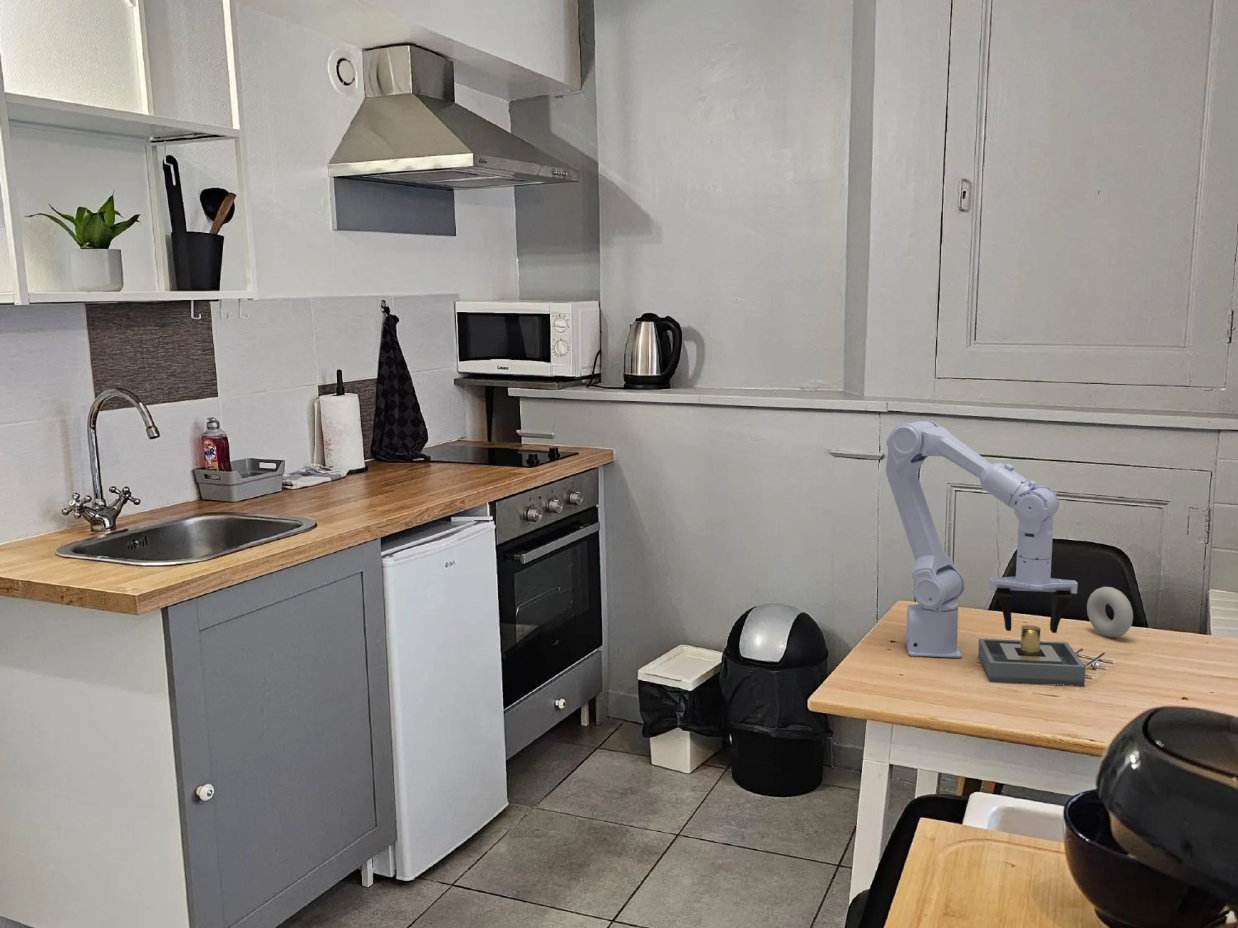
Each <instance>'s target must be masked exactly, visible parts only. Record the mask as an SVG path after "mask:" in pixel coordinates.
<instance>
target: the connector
mask: <svg viewBox="0 0 1238 928" xmlns="http://www.w3.org/2000/svg"><path fill="white" fill-rule="evenodd" d="M1020 640H1021V648H1020V656H1035V657H1039V652H1040V641H1041V627H1039V626H1037V625H1031V624H1030V625H1028V624H1025V625H1022V626H1021V629H1020Z"/></svg>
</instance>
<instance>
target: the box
mask: <svg viewBox="0 0 1238 928" xmlns="http://www.w3.org/2000/svg"><path fill="white" fill-rule="evenodd" d="M999 643H1005V644H1021V639H1019V640H1018V639H998V638H997V639H996V638H995V639H994V638H978V650H977V651H978V652H977V653H978V654H977V657H978V660H979V659H980V660H979V662H980V664H981V663H982V664H981V666H982V669H983V670H984V673H985V675H986V678H987V679H988V681H989V683H1001V684H1002V683H1003V684H1004V683H1005V684H1022V683H1025V684H1026V683H1029V684H1028V685H1042V684H1056V685H1055V686H1063V684H1064V685H1073V686H1072V687H1083V686H1084V687H1085V685H1086V684H1085V681H1086V680H1085V679H1086V666H1085V664H1084V662H1082V660H1081V658H1080V657H1079V656H1078V655H1077V654H1076V652H1075V651H1074V649H1073V648H1072V647H1071V646H1070V644H1069V642H1066V641H1045V640H1044V641H1043V640H1040V645H1051V646H1052V647H1053V649H1054V650H1055V652H1056V653H1057V655H1058V656H1059V658H1060V659H1061V661H1062V664H1041V663H1019V662H1001V660H1000V658H999ZM1057 684H1059V685H1057ZM1060 684H1061V685H1060ZM1026 685H1027V684H1026Z"/></svg>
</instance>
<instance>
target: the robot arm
mask: <svg viewBox="0 0 1238 928" xmlns="http://www.w3.org/2000/svg"><path fill="white" fill-rule="evenodd" d="M885 443H886V444H885V445H886V447H887V449H888V450H887V454H886V455H887V456H886V464H885V473H886V474H885V475H886V477H887V479H888V480H887V481H888V483H889V486H890V489H891V492H892V495H893V498H894V501H895V505H896V507H897V510H898V513H899V516H900V519H901V522H902V525H903V528H904V530H905V531H904V532H905V534H906V537H907V540H908V543H909V546H910V549H911V552H912V555H913V558H914V563H913V567H912V570H911V576H912V579H913V580H912V581H913V586H912V587H913V588H912V593H913V597H914V599H915V600H916V602H917V603H916V604H908V605H907V607H906V628H905V629H906V631H905V633H904V634H905V636H904V638H905V640H904V641H905V645H906V649H907V654H908V655H909V656H913V657H914V656H915V657H917V656H918V657H933V658H934V657H938V658H954V659H955V658H956V659H957V658H958V659H960V658H962V653H961V651H960V648H959V647H958V629H959V627H958V625H959V597H960V596H961V595H962V594H963V592H964V591H965V586H966V582H965V579H964V577H963V575H962V573H961V572H960V571H959V570H958V569H957V568H956V566H955V564H954V561H953V559H952V558H951V557H950V556H949V555H947V554H946V553H945V551H943V548H942V547H943V546H942V544H941V541H940V538H939V536H938V532H937V529H936V526H935V523H934V521H933V518H932V515H931V511H930V508H929V506H928V503H927V500H926V496H925V493H924V491H923V487H922V486H921V482H920V480H919V477H918V472H919V470H920V469H921V467H922V465H923V463H924V461H925V460H926V459H927V458H928V457H942V458H945V459H947V460H948V461H950V462H951V463H953V464H954V465H956V466H958V467H960V468H961V469H963V470H965V471H967V472H968V473H969V474H971V475H973V476H974V477H976V478H978V479H979V481H980V485H981V488H982V490H984V491H985V492H987V493H988V494H989V495H991V496H993V497H994V498H996V499H997V500H999V501H1000V502H1002V503H1003V504H1004V505H1005V506H1007V507H1009V508H1011V509H1013V512H1014V515H1015V516H1016V519H1018V529H1017V546H1016V549H1017V550H1016V563H1015V564H1016V566H1015V567H1016V570H1015V576H1004V577H1003V576H1001V577H989V578H988V579H989V580H988V589H989V590H990V591H993V592H995V595H996V597H997V601H999V605H1000V607H1001V611H1002V615H1003V620H1004V628H1005V630H1006V631H1008V632H1011V631H1012V609H1013V608H1012V607H1013V600H1014V597H1013V595H1012V594H1013V593H1012V592H1011V591H1018V592H1019V591H1020V592H1021V591H1024V592H1047V593H1050V594H1051V595H1050V598H1051V599H1050V601H1051V607H1050V608H1051V609H1050V610H1051V612H1050V621H1049V629H1050V632H1051V633H1052V634H1053V633H1054V634H1057V633H1058V627H1059V625H1060V622H1061V620H1062V617H1063V614H1064V612H1065V611H1066V609H1067V607H1068V606H1070V605H1069V604H1071V601H1072V599H1073V597H1072V595H1071V594H1075V595H1077V594H1078V585H1079V584H1078V582H1077V581H1076V580H1071V579H1061V578H1051V576H1052V575H1051V573H1052V559H1053V557H1052V556H1053V555H1052V554H1053V537H1054V536H1053V535H1054V531H1053V530H1054V527H1053V526H1054V517H1053V516H1054V515H1056V514H1057V512H1058V510H1059V507H1060V506H1059V505H1060V501H1059V498H1058V496H1057V494H1056V493H1055V492H1054V491H1053V490H1052V489H1051V488H1050V487H1048V486H1047V485H1046V486H1045V485H1038V486H1037V483H1038V482H1036V481H1035V480H1034V479H1031V480H1029V479H1027V478H1025V477H1024V476H1023V475H1022V474H1019V473H1018V472H1017V471H1015V466H1014V465H1012V464H1010V463H1006V464H1005V463H1003V462H996V463H991V462H989V461H988V460H987V459H985V458H984V457H983V456H982V455H980V454H979V453H978V452H976V451H975V450H973V449H972V448H970V447H969V446H968V445H966V444H965V443H964V442H963V441H961V440H959V438H957V437H956V436H954V435H953V434H952V433H950V431H949V429H947V428H946V427H943V426H941V425H940V426H939V425H938V424H937V423H936V422H934V421H933V420H931V419H921V420H918V421H914V422H910V423H900V424H898V425H897V426H895V427H894V428H893V429H892V431H891V432H890V434H889V436H888V437H887V439H886V441H885Z"/></svg>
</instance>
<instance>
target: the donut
mask: <svg viewBox="0 0 1238 928" xmlns="http://www.w3.org/2000/svg"><path fill="white" fill-rule="evenodd" d="M1086 604H1087V605H1086V611H1087V617H1088V619H1089V620H1088V621H1089V622H1090V624H1091V625H1092V627H1093V628H1094V630H1095V631H1097V633H1099V634H1101V635H1102V636H1105V637H1108V638H1119V637H1121V636H1124V635H1125V634H1126V633H1127V632H1129V631H1130V629H1131V627H1132V625H1133V621H1134V620H1133V619H1134V612H1133V608H1132V604H1131V602H1130V600H1129V599H1128V598H1127V596H1126V595H1125V594H1124V593H1123V592H1122V591H1120V590H1119V589H1118V588H1117V589H1116V588H1114V587H1113V586H1112V587H1111V586H1102V587H1100V588H1097V589H1095V590H1094V591H1093V592H1092V593H1090V596H1089V597H1088V599H1087V602H1086ZM1107 605H1109V606H1110V607H1111V609H1112V610H1113V619H1110V618H1109V617H1108V616H1107V613H1106V606H1107Z"/></svg>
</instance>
